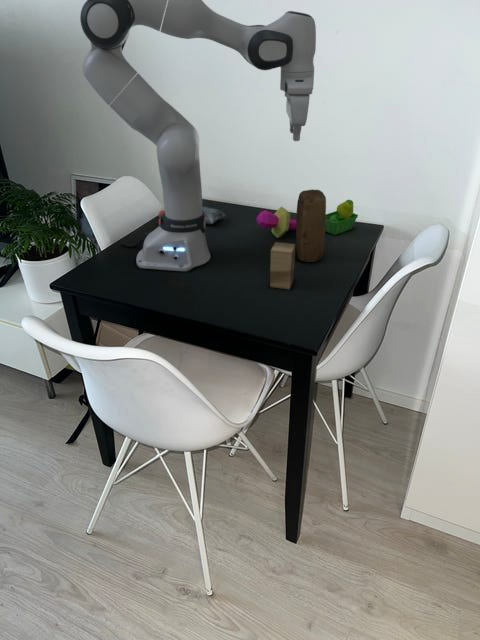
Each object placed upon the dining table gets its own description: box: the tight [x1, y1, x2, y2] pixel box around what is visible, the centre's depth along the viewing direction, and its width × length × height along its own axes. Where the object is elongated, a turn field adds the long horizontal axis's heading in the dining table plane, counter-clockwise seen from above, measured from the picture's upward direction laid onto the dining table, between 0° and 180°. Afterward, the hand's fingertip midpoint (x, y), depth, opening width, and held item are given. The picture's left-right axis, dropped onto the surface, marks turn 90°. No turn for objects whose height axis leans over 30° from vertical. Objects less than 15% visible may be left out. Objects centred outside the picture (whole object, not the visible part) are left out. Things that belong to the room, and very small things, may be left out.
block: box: [295, 189, 327, 263], centre depth 150 cm, size 11×8×20 cm
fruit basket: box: [325, 199, 359, 236], centre depth 169 cm, size 11×9×11 cm
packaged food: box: [203, 206, 226, 225], centre depth 179 cm, size 9×12×5 cm
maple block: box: [269, 241, 296, 290], centre depth 138 cm, size 6×6×11 cm
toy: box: [256, 206, 296, 239], centre depth 168 cm, size 10×18×10 cm, turn 108°
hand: (294, 136), depth 142 cm, fingers open, 8 cm apart
